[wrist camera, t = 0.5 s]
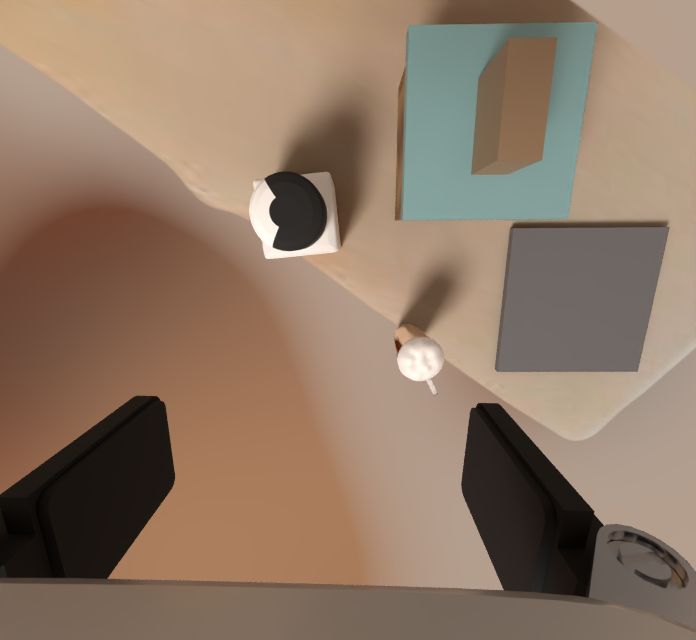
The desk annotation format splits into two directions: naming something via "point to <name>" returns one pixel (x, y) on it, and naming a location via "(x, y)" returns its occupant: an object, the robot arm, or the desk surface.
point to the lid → (493, 119)
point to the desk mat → (578, 298)
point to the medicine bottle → (295, 214)
